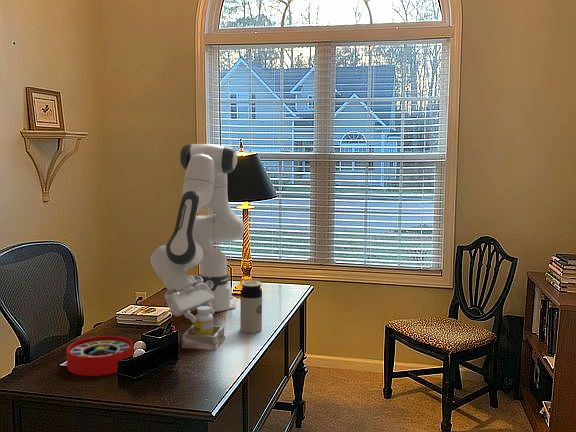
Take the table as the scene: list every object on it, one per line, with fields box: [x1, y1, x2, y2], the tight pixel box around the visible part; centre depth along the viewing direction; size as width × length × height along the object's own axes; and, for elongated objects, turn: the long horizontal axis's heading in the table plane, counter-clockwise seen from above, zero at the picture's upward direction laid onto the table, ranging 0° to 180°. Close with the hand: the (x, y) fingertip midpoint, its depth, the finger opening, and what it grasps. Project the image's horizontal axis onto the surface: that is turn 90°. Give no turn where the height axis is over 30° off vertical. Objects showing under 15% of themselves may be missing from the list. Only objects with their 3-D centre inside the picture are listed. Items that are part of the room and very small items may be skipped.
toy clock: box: [66, 335, 134, 377], centre depth 188 cm, size 20×6×20 cm
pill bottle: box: [193, 306, 214, 336], centre depth 208 cm, size 6×6×12 cm
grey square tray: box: [181, 323, 226, 351], centre depth 208 cm, size 12×12×4 cm
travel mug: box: [239, 280, 263, 334], centre depth 222 cm, size 8×8×18 cm
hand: (204, 318), depth 207 cm, fingers open, 8 cm apart
